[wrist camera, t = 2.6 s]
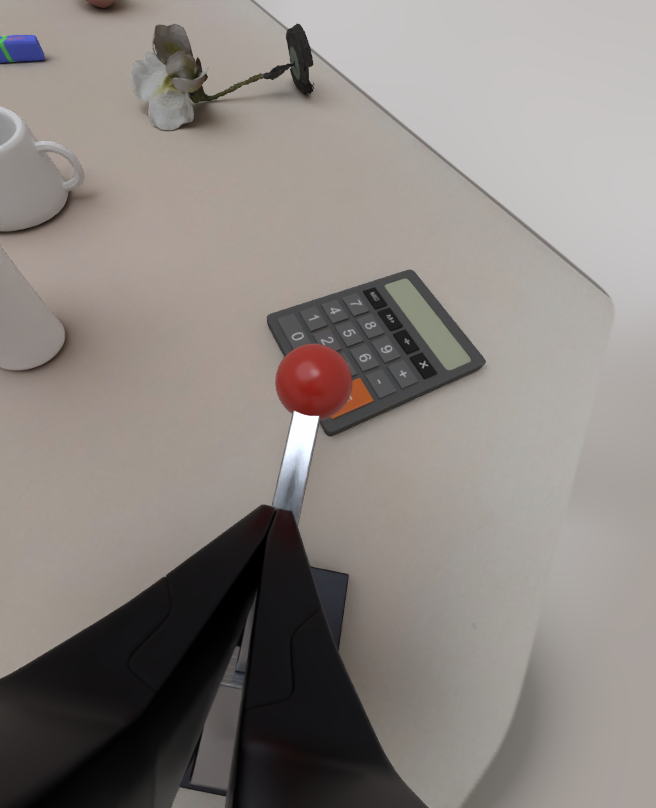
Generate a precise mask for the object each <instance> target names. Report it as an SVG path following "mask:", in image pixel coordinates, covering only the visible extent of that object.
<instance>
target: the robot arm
mask: <svg viewBox="0 0 656 808" xmlns="http://www.w3.org/2000/svg"><path fill="white" fill-rule="evenodd" d="M256 594H257V596H256ZM255 597H256V602H255V608H254V615H253V622H252V628H251V635H250V642H249V649H248V655H247V662H246V669H245V675H244V682H243V689H242V695H241V702H240V709H239V715H238V722H237V729H236V735H235V742H234V749H233V755H232V762H231V769H230V776H229V782H228V789H227V796H226V802H225V808H428V807H427V806H426V805H425V804H424V803H423V801H422V800H421V799H420V798H419V797H418V796H417V795H416V794H415V793H414V792H413V791H412V790H411V789H410V788H409V787H408V786H407V785H406V784H405V782H404V781H403V780H402V779H401V777H400V776H399V775H398V773H397V772H396V771H395V769H394V768H393V766H392V765H391V763H390V761H389V760H388V758H387V756H386V754H385V753H384V751H383V749H382V747H381V745H380V743H379V741H378V738H377V736H376V734H375V732H374V730H373V728H372V725H371V723H370V721H369V719H368V717H367V715H366V712H365V710H364V708H363V706H362V704H361V701H360V699H359V697H358V695H357V693H356V690H355V688H354V686H353V684H352V682H351V680H350V677H349V675H348V673H347V671H346V668H345V666H344V664H343V661H342V659H341V657H340V654H339V652H338V650H337V647H336V645H335V642H334V639H333V636H332V633H331V630H330V628H329V625H328V622H327V618H326V615H325V612H324V610H323V609H322V608H323V606H322V603H321V600H320V597H319V593H318V590H317V587H316V584H315V580H314V577H313V574H312V571H311V568H310V564H309V561H308V558H307V555H306V552H305V548H304V545H303V542H302V539H301V536H300V532H299V529H298V526H297V523H296V520H295V516H294V513H293V511H292V510H288V509H283V508H278V509H276V507H273V506H269V505H260V506H259V507H258V508H256V509H255V510H254V511H252V512H251V513H250V514H248V515H247V516H245V517H244V518H243V519H241V520H240V521H239V522H237V523H236V524H235V525H233V526H232V527H231V528H229V529H228V530H226V531H225V532H224V533H222V534H221V535H220V536H218V537H217V538H216V539H214V540H213V541H212V542H210V543H209V544H208V545H206V546H205V547H203V548H202V549H201V550H199V551H198V552H197V553H195V554H194V555H193V556H191V557H190V558H189V559H187V560H186V561H184V562H183V563H182V564H180V565H179V566H178V567H176V568H175V569H174V570H172V571H171V572H170V573H168V574H167V575H166V577H163V578H161V579H160V580H158V581H157V582H156V583H154V584H153V585H152V586H150V587H149V588H147V589H146V590H145V591H143V592H142V593H140V594H139V595H137V596H136V597H135V598H133V599H132V600H130V601H129V602H127V603H126V604H124V605H123V606H121V607H120V608H118V609H116V610H115V611H113V612H112V613H110V614H109V615H107V616H105V617H104V618H102V619H101V620H99V621H97V622H96V623H94V624H93V625H91V626H89V627H88V628H86V629H84V630H83V631H81V632H79V633H78V634H76V635H74V636H73V637H71V638H69V639H68V640H66V641H65V642H63V643H61V644H60V645H58V646H56V647H55V648H53V649H51V650H50V651H48V652H46V653H45V654H43V655H41V656H40V657H38V658H37V659H35V660H33V661H32V662H30V663H28V664H27V665H25V666H23V667H21V668H20V669H18V670H16V671H14V672H13V673H11V674H9V675H7V676H5V677H3V678H1V679H0V808H171V806H172V804H173V801H174V799H175V796H176V794H177V791H178V789H179V786H180V784H181V781H182V779H183V776H184V774H185V771H186V769H187V766H188V764H189V761H190V759H191V756H192V754H193V751H194V749H195V746H196V744H197V742H198V739H199V737H200V734H201V732H202V729H203V727H204V724H205V722H206V719H207V717H208V714H209V712H210V709H211V707H212V704H213V702H214V699H215V697H216V694H217V692H218V689H219V687H220V684H221V682H222V679H223V677H224V675H225V672H226V670H227V667H228V665H229V662H230V660H231V657H232V655H233V652H234V650H235V647H236V645H237V642H238V640H239V637H240V635H241V632H242V630H243V627H244V625H245V622H246V620H247V617H248V615H249V612H250V610H251V608H252V605H253V602H254V600H255Z"/></svg>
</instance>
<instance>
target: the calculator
mask: <svg viewBox="0 0 656 808" xmlns="http://www.w3.org/2000/svg"><path fill="white" fill-rule="evenodd" d="M267 323H268V326H269V328H270V330H271V332H272V334H273V336H274V338H275V339H276V341H277V343H278V345H279V347H280V349H281V351H282V353H283V354H284V356H286V355H287V354H288V353H289V352H291V351H292V350H293V349H295V348H297V347H299V346H302V345H305V344H312V343H313V344H323V345H326V346H329V347H331V348H333V349H335V350H336V351H337V352H339V353H340V354H341V355H342V356H343V357H344V359H345V360H346V361H347V363H348V365H349V367H350V370H351V373H352V380H353V384H352V391H351V395H350V397H349V400H348V401H347V403H346V404H345V406H344V407H343V408H342V409H341V410H340V411H339V412H338V413H336V414H335V415H333V416H332V417H329V418H327V419H324V420H320V424H321V426H322V428H323V430H324V431H325V433H326V434H327V435H329V436H331V435H334V434H336V433H339V432H341V431H343V430H345V429H348V428H350V427H352V426H354V425H356V424H359V423H361V422H363V421H365V420H368V419H370V418H372V417H374V416H376V415H379V414H381V413H383V412H385V411H388V410H390V409H392V408H394V407H396V406H399V405H401V404H403V403H405V402H408V401H410V400H412V399H414V398H416V397H419V396H421V395H423V394H425V393H428V392H430V391H432V390H434V389H436V388H439V387H441V386H443V385H445V384H448V383H450V382H452V381H454V380H457V379H459V378H461V377H463V376H465V375H468V374H470V373H472V372H474V371H477V370H479V369H480V368H481V367H482V366H483V365H484V364H485V363H486V361H485V359H484V358H483V356H482V355H481V354H480V353H479V351H478V350H477V349H476V348H475V346H474V345H473V344H472V343H471V341H470V340H469V339H468V338H467V336H466V335H465V334H464V333H463V331H462V330H461V329H460V328H459V326H458V325H457V324H456V323H455V322H454V320H453V319H452V318H451V317H450V315H449V314H448V313H447V312H446V310H445V309H444V308H443V307H442V305H441V304H440V303H439V302H438V300H437V299H436V298H435V297H434V295H433V294H432V293H431V292H430V290H429V289H428V288H427V287H426V286H425V284H424V283H423V282H422V281H421V279H420V278H419V277H418V276H417V274H416V273H415V272H414V271H413V270H406V271H403V272H400V273H397V274H394V275H391V276H387V277H384V278H381V279H378V280H375V281H372V282H369V283H366V284H362V285H359V286H356V287H353V288H350V289H347V290H344V291H340V292H337V293H334V294H331V295H328V296H325V297H322V298H319V299H315V300H312V301H309V302H306V303H303V304H300V305H297V306H293V307H290V308H287V309H284V310H281V311H278V312H275V313H272V314H269V315H268V316H267Z"/></svg>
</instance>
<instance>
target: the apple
mask: <svg viewBox="0 0 656 808" xmlns="http://www.w3.org/2000/svg"><path fill="white" fill-rule="evenodd" d="M87 1H88V2H89V3H91V4H92V5H95V6H97V7H100V8H106V7H109V6H110V5H112V4H113V3H114V2H115V1H116V0H87Z"/></svg>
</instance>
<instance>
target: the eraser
mask: <svg viewBox="0 0 656 808" xmlns="http://www.w3.org/2000/svg"><path fill="white" fill-rule="evenodd" d="M36 60H44V53H43V50H42V48H41V46H40V44H39V42H38V40H37V38H36V36H35V35H12V36H1V37H0V63H10V62H23V61H36Z"/></svg>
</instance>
